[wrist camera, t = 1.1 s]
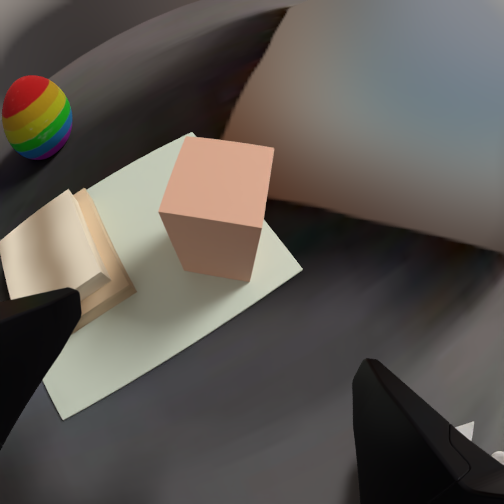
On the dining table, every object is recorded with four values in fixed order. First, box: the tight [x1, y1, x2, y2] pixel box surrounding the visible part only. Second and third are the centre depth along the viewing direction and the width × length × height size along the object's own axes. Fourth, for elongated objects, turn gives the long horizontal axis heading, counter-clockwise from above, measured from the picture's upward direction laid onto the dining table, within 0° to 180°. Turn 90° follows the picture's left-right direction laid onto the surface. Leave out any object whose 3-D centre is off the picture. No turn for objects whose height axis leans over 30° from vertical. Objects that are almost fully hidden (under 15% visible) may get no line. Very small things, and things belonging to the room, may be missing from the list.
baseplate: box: [43, 133, 303, 420], centre depth 22 cm, size 23×17×1 cm
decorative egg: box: [2, 75, 72, 160], centre depth 22 cm, size 8×8×10 cm
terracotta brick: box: [158, 136, 274, 282], centre depth 19 cm, size 5×5×9 cm
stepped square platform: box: [0, 188, 137, 335], centre depth 19 cm, size 10×10×4 cm
